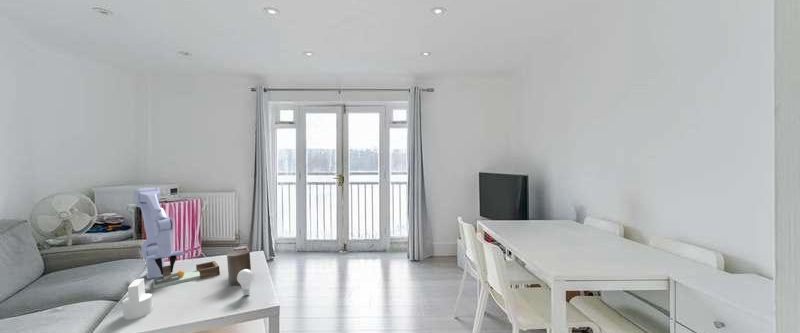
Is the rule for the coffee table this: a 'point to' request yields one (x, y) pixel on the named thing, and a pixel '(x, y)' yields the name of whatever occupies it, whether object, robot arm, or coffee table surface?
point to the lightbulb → (245, 280)
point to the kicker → (166, 272)
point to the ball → (180, 273)
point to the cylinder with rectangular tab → (137, 301)
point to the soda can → (241, 248)
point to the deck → (180, 279)
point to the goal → (208, 269)
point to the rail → (165, 279)
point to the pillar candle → (237, 264)
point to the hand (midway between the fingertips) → (166, 273)
